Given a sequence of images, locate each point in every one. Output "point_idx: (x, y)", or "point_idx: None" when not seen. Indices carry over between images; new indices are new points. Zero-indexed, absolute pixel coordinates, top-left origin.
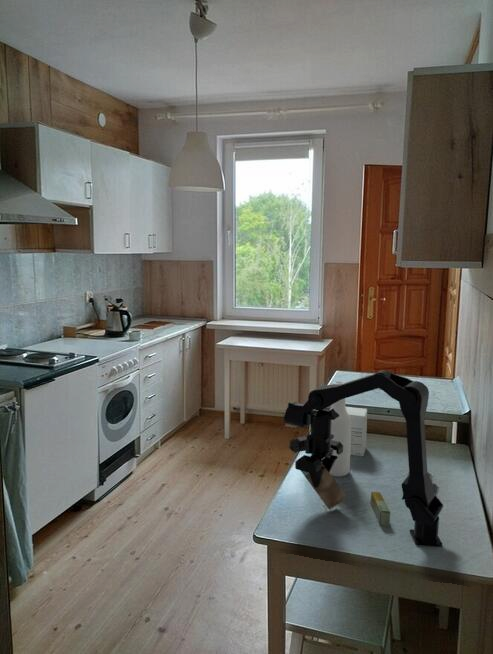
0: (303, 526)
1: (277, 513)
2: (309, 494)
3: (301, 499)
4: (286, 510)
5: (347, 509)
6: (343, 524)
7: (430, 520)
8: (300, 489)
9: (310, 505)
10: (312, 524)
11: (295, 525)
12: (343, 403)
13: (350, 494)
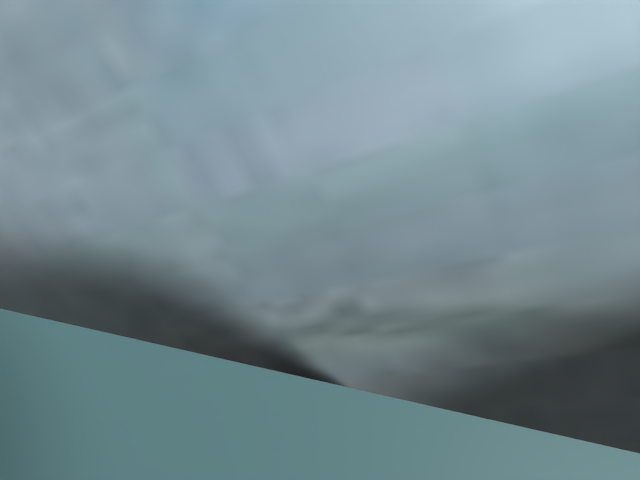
0: (41, 254)
1: (51, 11)
2: (500, 165)
3: (376, 126)
4: (137, 68)
5: None
6: None
7: None
8: (595, 39)
9: (309, 226)
10: (95, 295)
11: (16, 206)
12: None
13: (588, 438)
